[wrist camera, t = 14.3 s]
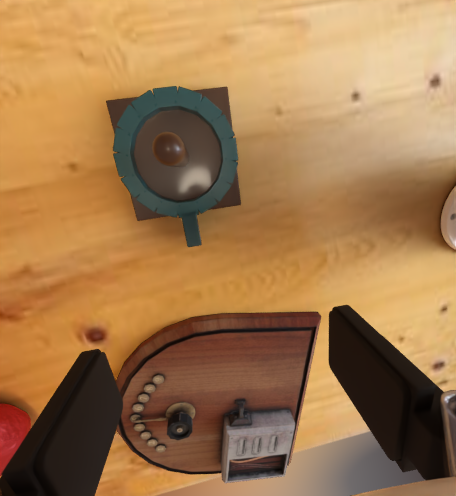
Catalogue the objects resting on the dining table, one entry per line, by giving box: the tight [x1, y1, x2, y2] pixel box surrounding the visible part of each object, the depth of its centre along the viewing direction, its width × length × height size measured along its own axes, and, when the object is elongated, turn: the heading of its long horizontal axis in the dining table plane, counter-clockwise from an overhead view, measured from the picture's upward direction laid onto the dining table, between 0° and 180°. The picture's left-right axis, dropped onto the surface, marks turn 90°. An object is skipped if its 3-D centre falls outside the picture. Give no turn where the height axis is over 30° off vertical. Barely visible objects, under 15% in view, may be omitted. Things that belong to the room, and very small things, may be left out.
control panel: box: [116, 312, 321, 483], centre depth 36 cm, size 31×5×30 cm
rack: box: [106, 87, 241, 221], centre depth 20 cm, size 12×12×13 cm
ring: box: [113, 86, 238, 247], centre depth 25 cm, size 12×16×2 cm
